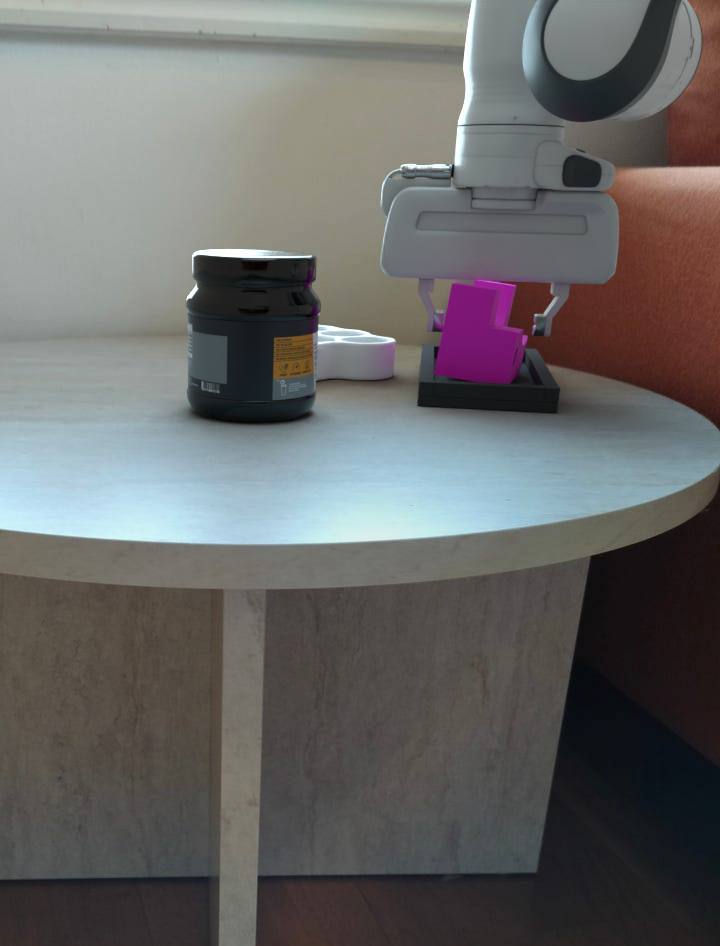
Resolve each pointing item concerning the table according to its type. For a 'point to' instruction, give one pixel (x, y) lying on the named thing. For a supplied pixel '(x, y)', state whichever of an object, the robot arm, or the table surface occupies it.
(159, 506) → the table surface
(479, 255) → the robot arm
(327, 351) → the white well tray
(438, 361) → the toy block
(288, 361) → the supplement container
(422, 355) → the socket pad
